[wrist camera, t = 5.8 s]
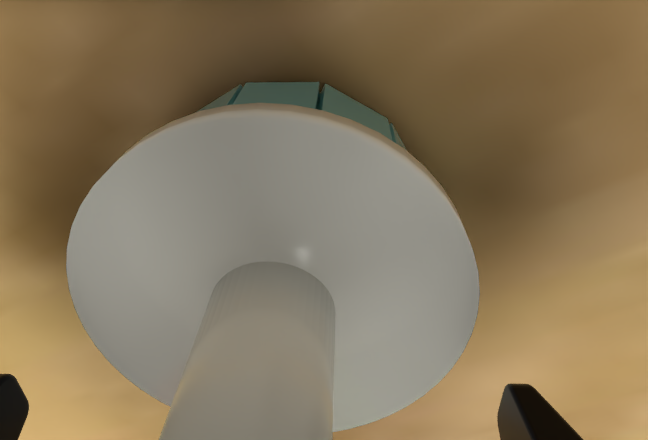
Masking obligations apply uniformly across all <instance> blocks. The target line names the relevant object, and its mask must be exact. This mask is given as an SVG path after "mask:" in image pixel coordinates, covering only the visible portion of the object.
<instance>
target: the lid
mask: <svg viewBox="0 0 648 440" xmlns="http://www.w3.org/2000/svg"><path fill="white" fill-rule="evenodd" d="M66 271H67V278H68V285H69V291H70V294H71V297H72V301H73V304H74V307H75V310H76V312H77V314H78V316H79V318H80V321H81V323H82V325H83V327H84V329H85V330H86V332H87V333H88V335H89V336H90V338H91V340H92V341H93V343H94V344H95V346H96V347H97V348H98V349H99V350H100V352H101V353H102V354H103V355H104V356H105V358H106V359H107V360H108V361H109V362H110V363H111V364H112V365H113V366H114V367H115V368H116V369H117V370H118V371H119V372H120V373H121V374H122V375H123V376H124V377H126V378H127V379H128V380H130V381H131V382H132V383H133V384H135V385H136V386H137V387H139V388H140V389H141V390H143V391H144V392H146V393H147V394H149V395H151V396H152V397H154V398H155V399H157V400H159V401H160V402H162V403H164V404H166V405H168V406H170V410H169V413H168V416H167V418H166V421H165V424H164V427H163V430H162V432H161V435H160V438H159V440H332V432H336V431H341V430H347V429H351V428H355V427H358V426H362V425H365V424H369V423H371V422H374V421H377V420H379V419H382V418H384V417H387V416H389V415H391V414H393V413H395V412H397V411H399V410H401V409H403V408H405V407H407V406H408V405H410V404H411V403H413V402H414V401H416V400H417V399H419V398H421V397H422V396H424V395H425V394H426V393H427V392H428V391H429V390H431V389H432V388H433V387H434V386H435V385H437V384H438V383H439V382H440V381H441V380H442V379H443V377H444V376H445V375H446V374H447V373H448V372H449V371H450V370H451V369H452V367H453V366H454V365H455V363H456V362H457V360H458V359H459V357H460V356H461V354H462V353H463V351H464V349H465V347H466V345H467V343H468V341H469V339H470V337H471V335H472V331H473V328H474V325H475V321H476V318H477V314H478V305H479V296H480V290H479V274H478V269H477V265H476V261H475V256H474V252H473V249H472V246H471V244H470V241H469V239H468V236H467V233H466V231H465V228H464V226H463V224H462V221H461V219H460V217H459V214H458V212H457V210H456V207H455V206H454V204H453V203H452V201H451V199H450V198H449V196H448V195H447V193H446V192H445V190H444V188H443V187H442V186H441V184H440V183H439V182H438V181H437V180H436V179H435V178H434V176H433V175H432V174H431V173H430V172H429V171H428V170H427V168H426V167H425V166H424V165H423V164H421V163H420V162H419V161H418V160H417V159H416V158H414V157H413V156H412V155H411V154H410V153H409V152H407V151H406V150H405V149H404V148H402V147H401V146H399V145H398V144H396V143H395V142H393V141H391V140H390V139H388V138H387V137H385V136H384V135H382V134H381V133H379V132H377V131H375V130H372V129H370V128H368V127H366V126H364V125H362V124H360V123H358V122H355V121H353V120H351V119H348V118H345V117H342V116H338V115H335V114H332V113H329V112H326V111H323V110H318V109H313V108H307V107H302V106H296V105H290V104H273V103H249V104H235V105H226V106H222V107H217V108H212V109H207V110H202V111H198V112H196V113H193V114H190V115H187V116H185V117H182V118H179V119H176V120H173V121H171V122H169V123H168V124H166V125H164V126H162V127H160V128H158V129H156V130H154V131H153V132H151V133H149V134H147V135H146V136H145V137H143V138H142V139H141V140H139V141H138V142H137V143H135V144H134V145H133V146H132V147H130V148H129V149H128V150H127V151H126V152H125V153H124V154H123V155H122V156H121V157H120V158H119V159H118V160H117V161H116V162H115V163H114V164H113V165H112V166H111V167H110V168H109V170H108V171H107V172H106V173H105V174H104V175H103V176H102V177H101V178H100V179H99V180H98V181H97V182H96V183H95V184H94V185H93V187H92V188H91V190H90V192H89V193H88V195H87V196H86V198H85V199H84V201H83V202H82V204H81V205H80V208H79V210H78V212H77V215H76V217H75V219H74V222H73V224H72V227H71V231H70V236H69V241H68V245H67V262H66Z"/></svg>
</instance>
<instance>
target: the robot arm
mask: <svg viewBox="0 0 648 440" xmlns="http://www.w3.org/2000/svg"><path fill="white" fill-rule="evenodd" d="M28 410H29V403H28V400H27V398H26V396H25V394H24V392H23V391H22V389H21V387H20V385H19V383H18V381H17V379H16V378H15V377H14V376H13V375H11V374H0V440H18V438H19V435H20V433H21V430H22V428H23V425H24V423H25V420H26V418H27V415H28ZM498 428H499V433H500V439H501V440H583V439H582V438H581V437H580V436H579V435H578V433H577V432H576V431H575V430H574V429H573V428H572V427H571V426H570V425H569V424H568V423H567V422H566V421H565V420H564V419H563V418H562V417H561V416H560V414H559V413H558V412H557V411H556V410H555V409H554V408H553V407H552V406H551V405H550V404H549V403H548V402H547V401H546V400H545V399H544V398H543V397H542V396H541V394H540V393H539V392H538V391H537V390H536V389H535V388H534V387H532V386H531V385H529V384H508V385H506V386H505V389H504V392H503V396H502V399H501V403H500V407H499V410H498Z"/></svg>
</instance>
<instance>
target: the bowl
mask: <svg viewBox="0 0 648 440" xmlns="http://www.w3.org/2000/svg"><path fill="white" fill-rule="evenodd" d="M249 103H273V104H290V105H296V106H302V107H307V108H313V109H318V110H323V111H326V112H329V113H332V114H335V115H338V116H342V117H345V118H348V119H351V120H353V121H355V122H358V123H360V124H362V125H364V126H366V127H368V128H370V129H372V130H375V131H377V132H379V133H381V134H382V135H384V136H385V137H387V138H388V139H390V140H391V141H393V142H395V143H396V144H398V145H399V146H401V147H402V148H404V149H405V150H406V148H405V146H404V144H403V142H402V140H401V139H400V137H399V135H398V133H397V131H396V130H395V128H394V126H393V124H392V123H390V124H389V122H388V118H386V117H384V116H382V115H380V114H379V113H377V112H375V111H373V110H372V109H370V108H368V107H366V106H365V105H363V104H361V103H359V102H357V101H356V100H354V99H352V98H350V97H349V96H347V95H345V94H343V93H342V92H340V91H338V90H336V89H334V88H333V87H331V86H329V85H327V84H326V83H325V85H324V87H323V89H322V91H321V92H320V82H246V84H245V85H244V87H242V85H241V84H240V85H238V86H237V87H235V88H233V89H232V90H230V91H229V92H227V93H225V94H224V95H222V96H221V97H219V98H218V99H216V100H214V101H213V102H211V103H210V104H208V105H206V106H205V107H203V108H202V109H200V110H198V111H202V110H207V109H212V108H217V107H222V106H226V105H235V104H249ZM198 111H197V112H198ZM195 113H196V112H195ZM406 151H407V150H406ZM407 152H408V151H407Z"/></svg>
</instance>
